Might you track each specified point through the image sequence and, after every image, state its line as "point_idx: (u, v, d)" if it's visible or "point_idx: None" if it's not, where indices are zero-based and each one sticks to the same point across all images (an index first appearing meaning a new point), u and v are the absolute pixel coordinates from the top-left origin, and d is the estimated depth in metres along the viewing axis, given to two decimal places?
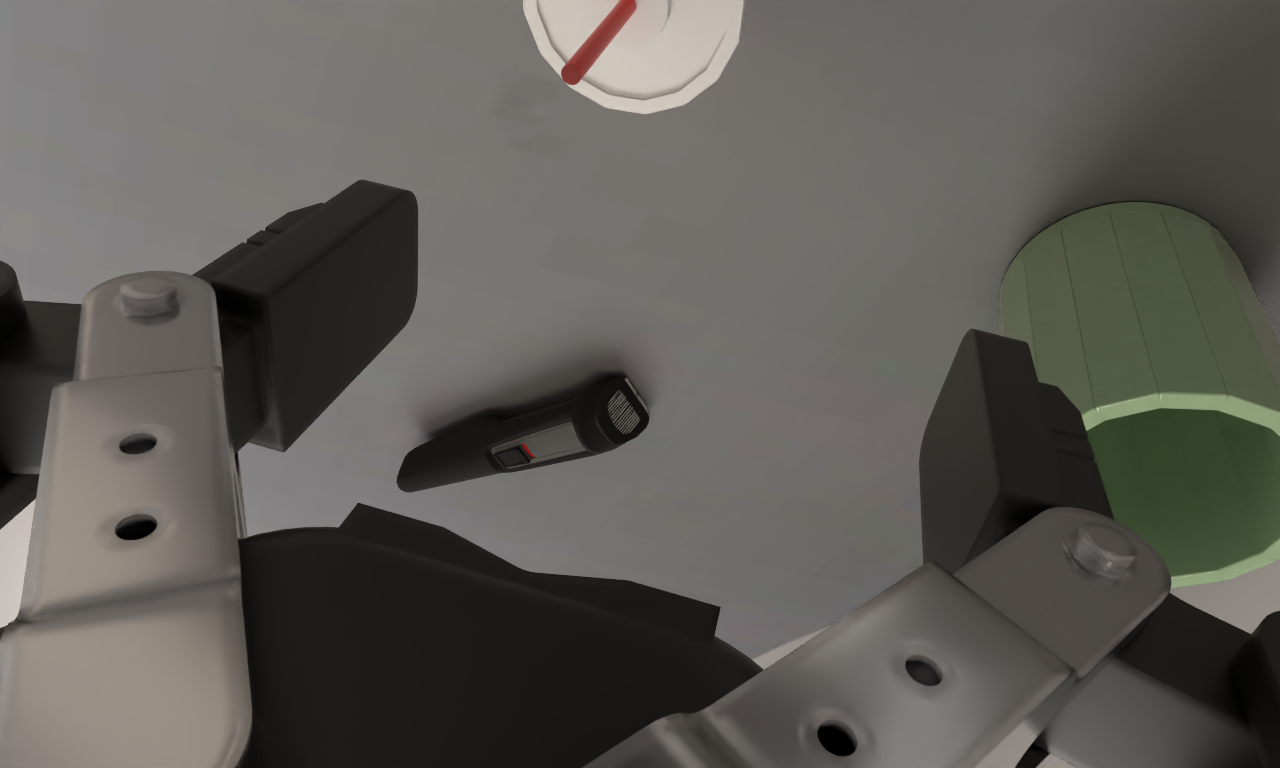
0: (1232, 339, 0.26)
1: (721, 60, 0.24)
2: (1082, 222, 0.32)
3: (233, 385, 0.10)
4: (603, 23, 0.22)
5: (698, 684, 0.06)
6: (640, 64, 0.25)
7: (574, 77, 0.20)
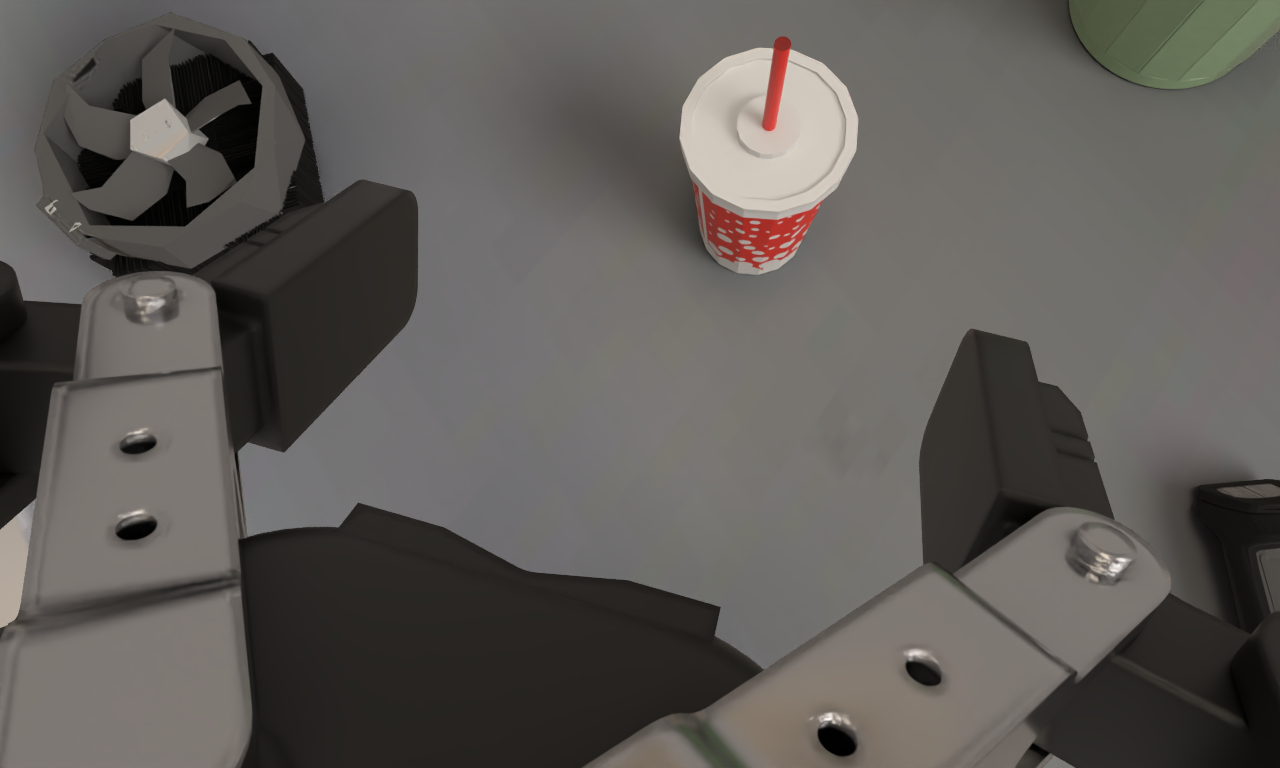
0: None
1: (832, 80, 0.31)
2: (1078, 7, 0.39)
3: (233, 385, 0.10)
4: (767, 91, 0.28)
5: (698, 684, 0.06)
6: (815, 141, 0.30)
7: (785, 42, 0.25)
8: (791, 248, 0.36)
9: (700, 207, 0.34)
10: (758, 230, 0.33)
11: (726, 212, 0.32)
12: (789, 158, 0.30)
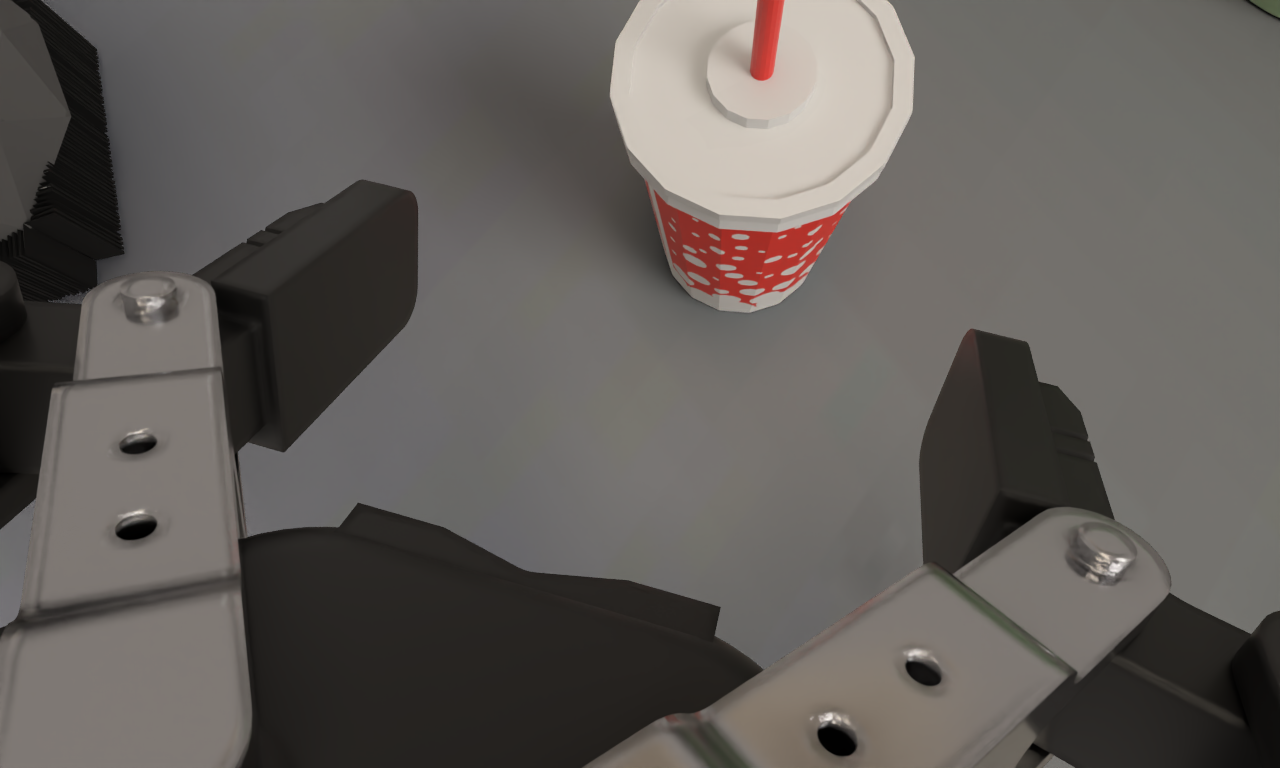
0: None
1: None
2: None
3: (233, 385, 0.10)
4: (757, 1, 0.16)
5: (698, 684, 0.06)
6: (842, 97, 0.18)
7: None
8: (799, 274, 0.24)
9: (655, 213, 0.22)
10: (747, 250, 0.20)
11: (693, 220, 0.19)
12: (797, 127, 0.18)
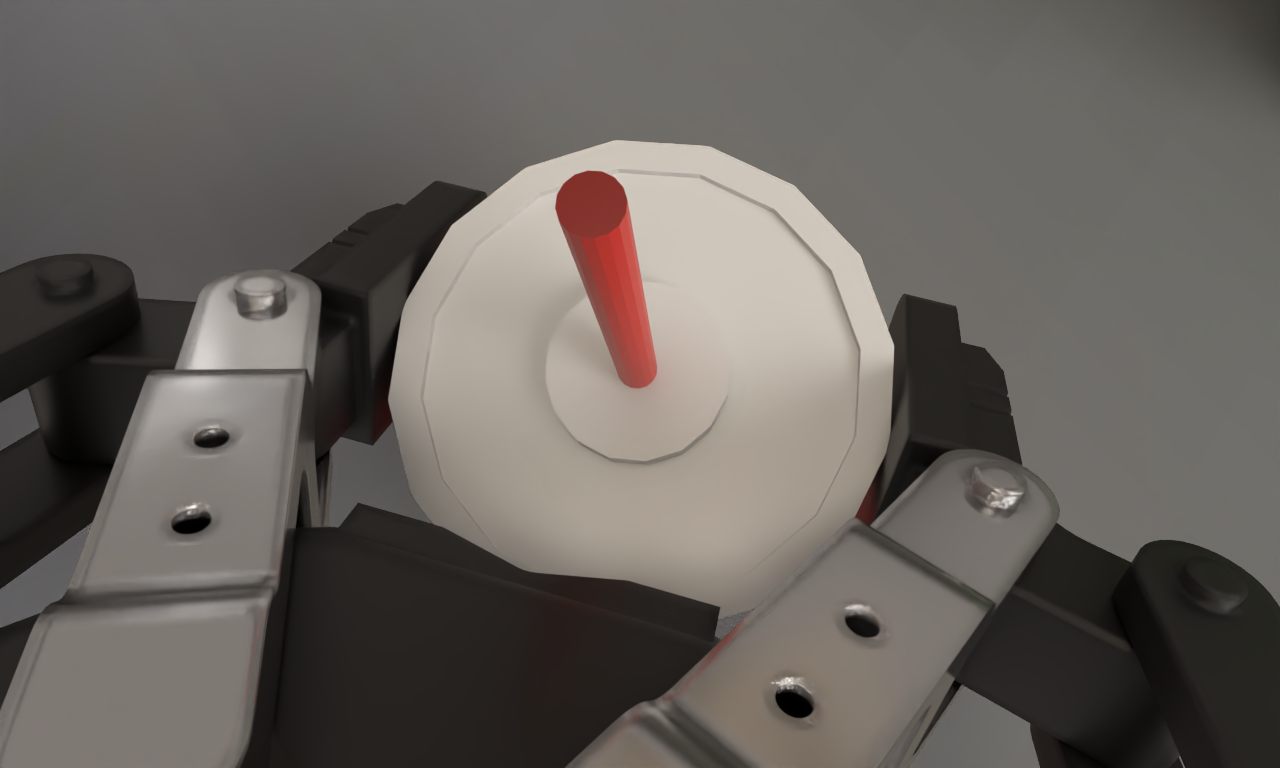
0: None
1: (821, 233, 0.11)
2: None
3: (333, 379, 0.10)
4: None
5: None
6: (773, 412, 0.11)
7: (604, 196, 0.06)
8: None
9: None
10: None
11: None
12: (697, 462, 0.10)
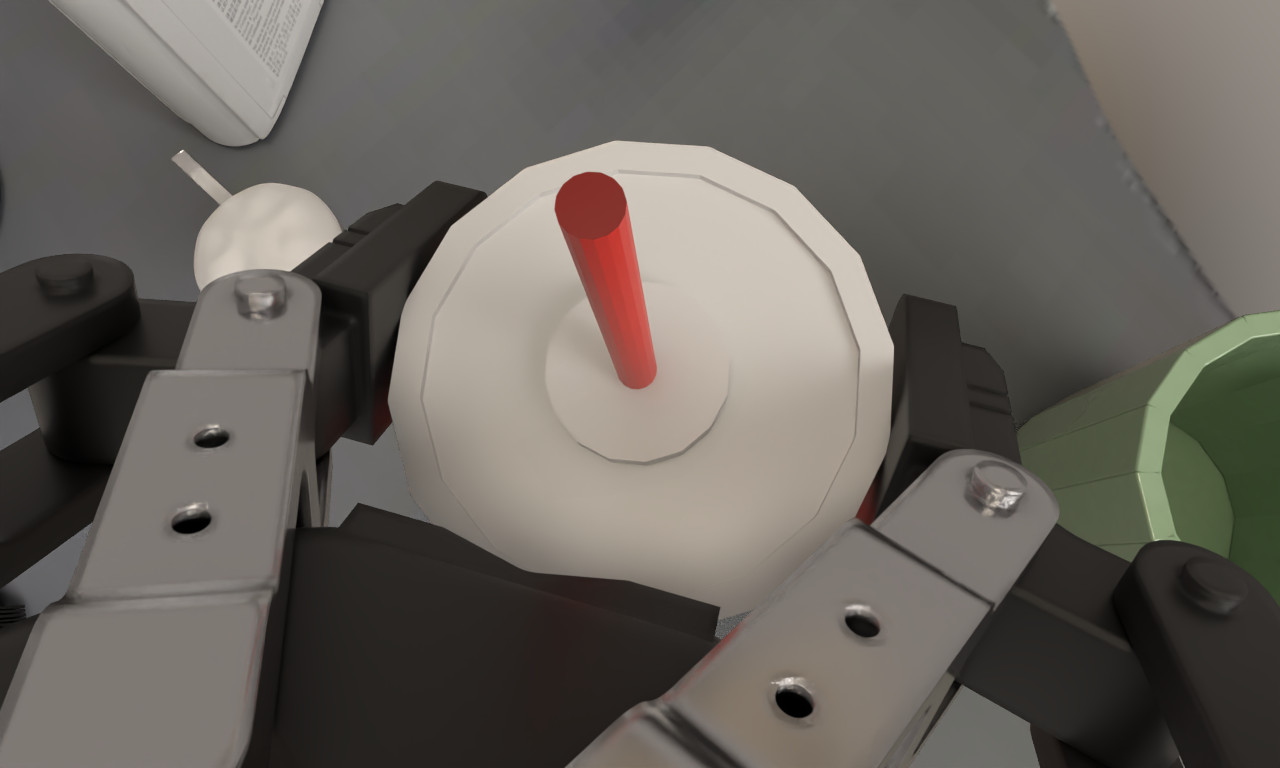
0: (1109, 399, 0.24)
1: (821, 234, 0.11)
2: None
3: (333, 379, 0.10)
4: None
5: None
6: (772, 412, 0.11)
7: (602, 196, 0.06)
8: None
9: None
10: None
11: None
12: (696, 463, 0.10)
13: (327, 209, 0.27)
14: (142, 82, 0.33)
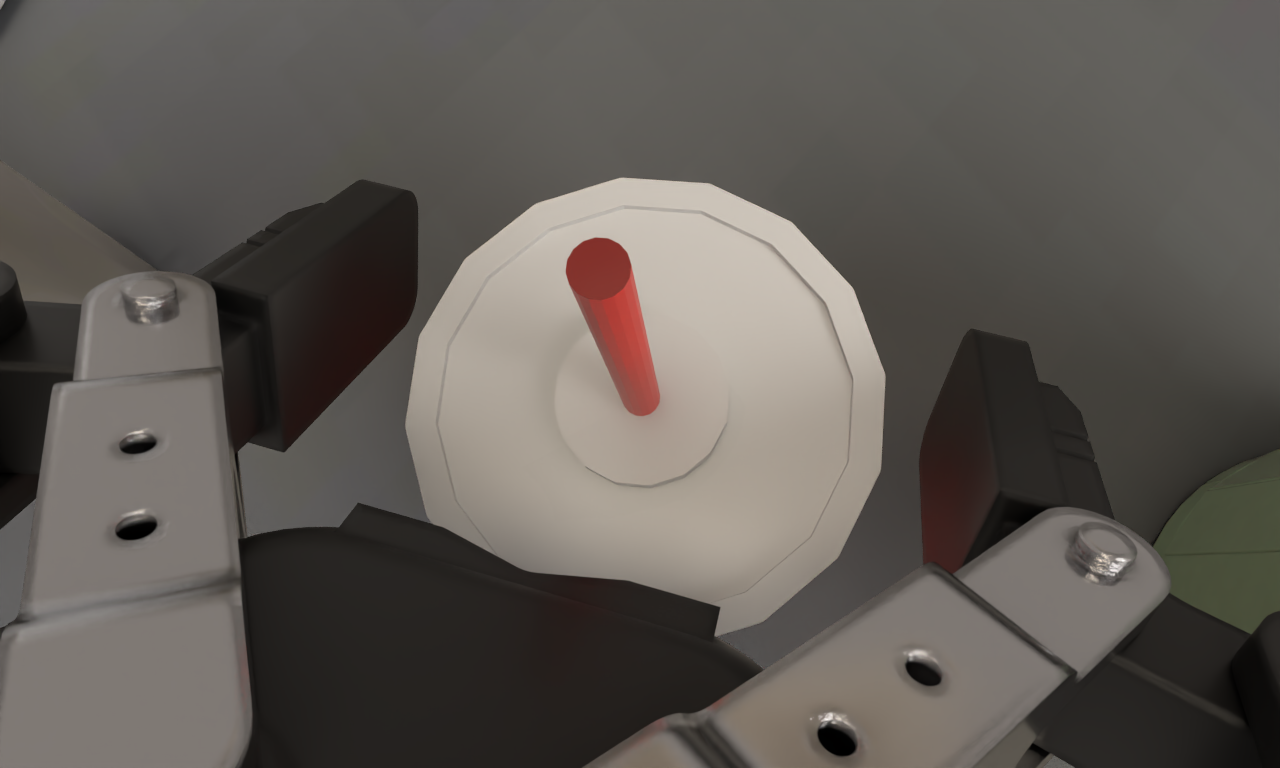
0: None
1: (816, 267, 0.11)
2: None
3: (233, 385, 0.10)
4: None
5: (698, 684, 0.06)
6: (769, 438, 0.11)
7: (610, 261, 0.06)
8: None
9: None
10: None
11: None
12: (698, 486, 0.11)
13: None
14: None
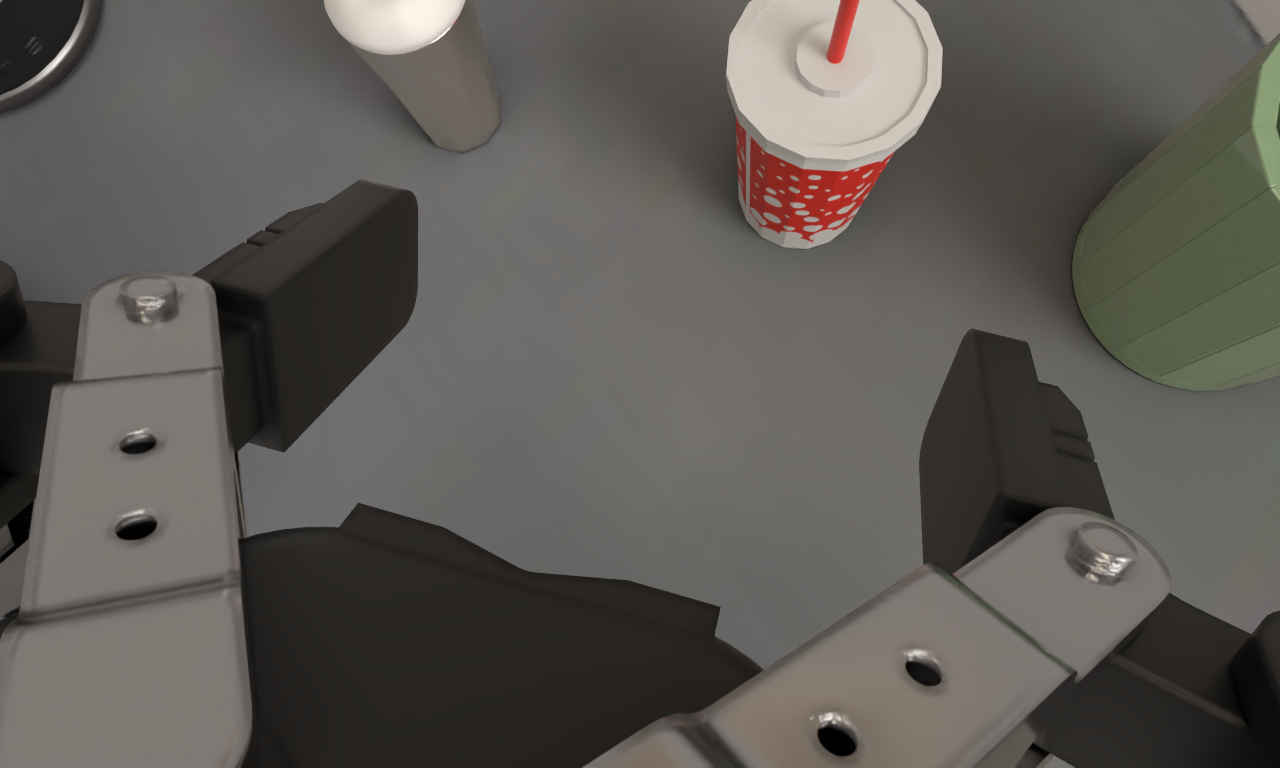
0: (1211, 103, 0.25)
1: (910, 4, 0.25)
2: (1084, 288, 0.32)
3: (233, 385, 0.10)
4: (838, 8, 0.23)
5: (698, 684, 0.06)
6: (891, 76, 0.25)
7: None
8: (848, 215, 0.31)
9: (745, 164, 0.29)
10: (817, 189, 0.27)
11: (780, 165, 0.27)
12: (859, 96, 0.25)
13: None
14: None
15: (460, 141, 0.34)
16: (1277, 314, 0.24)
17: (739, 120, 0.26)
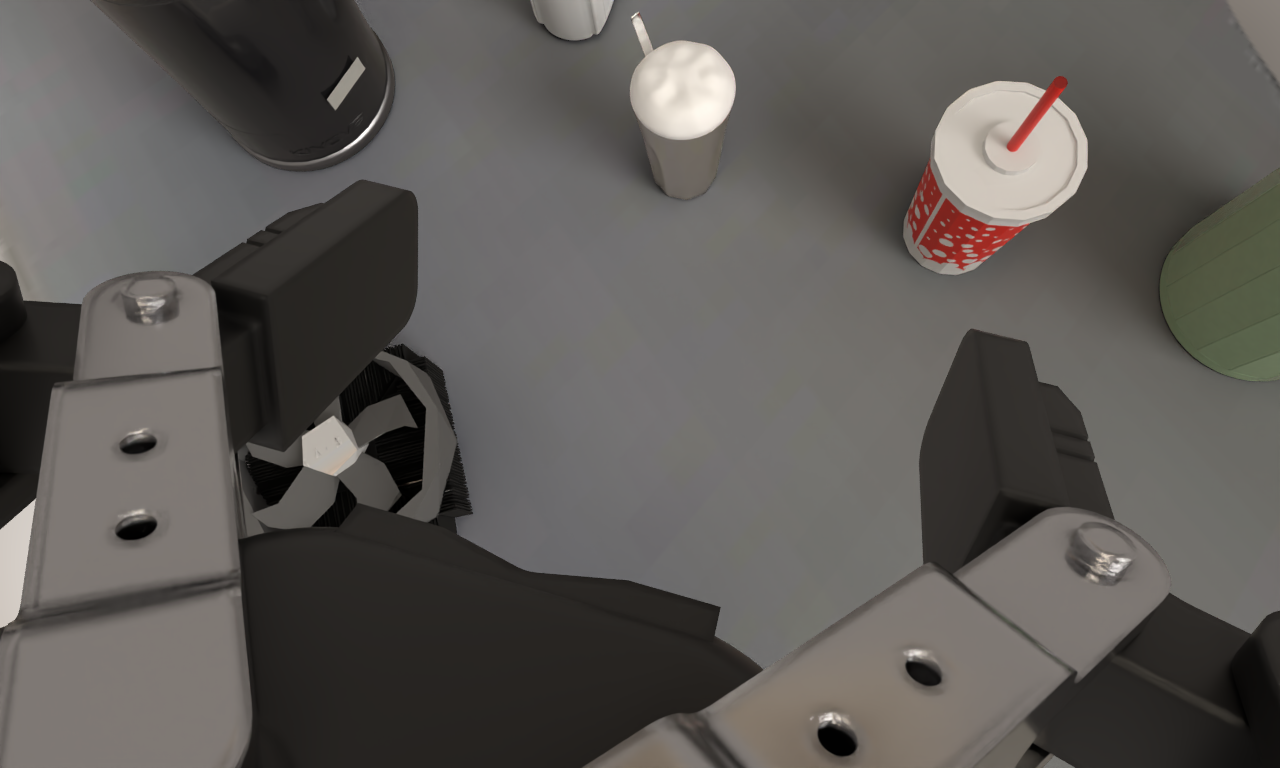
0: (1275, 178, 0.36)
1: (1063, 108, 0.36)
2: (1171, 305, 0.42)
3: (233, 385, 0.10)
4: (1025, 119, 0.34)
5: (698, 684, 0.06)
6: (1051, 160, 0.36)
7: (1062, 80, 0.31)
8: None
9: (928, 216, 0.40)
10: (988, 236, 0.38)
11: (965, 220, 0.37)
12: (1029, 174, 0.36)
13: (723, 58, 0.38)
14: None
15: (690, 192, 0.45)
16: None
17: (941, 190, 0.36)
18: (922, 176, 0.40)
